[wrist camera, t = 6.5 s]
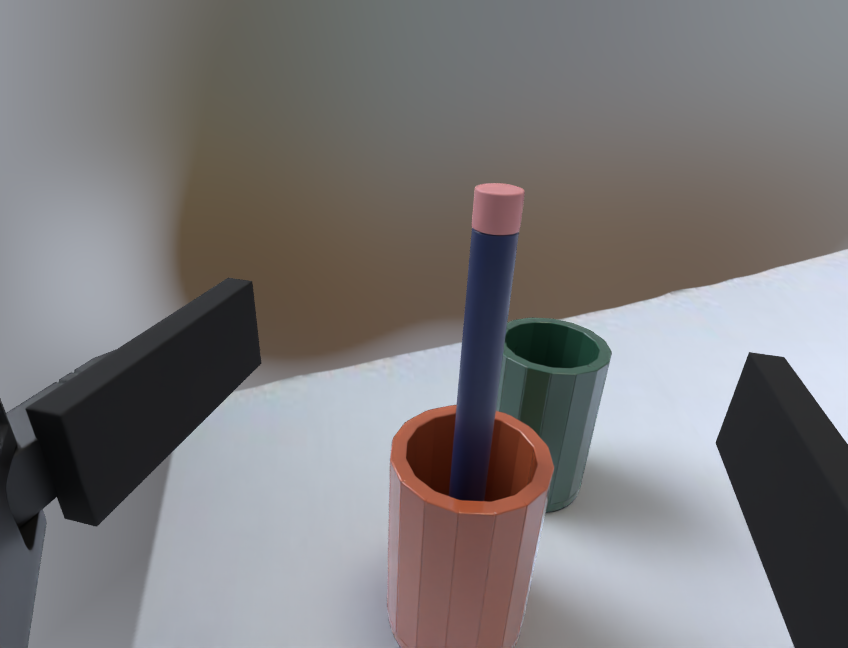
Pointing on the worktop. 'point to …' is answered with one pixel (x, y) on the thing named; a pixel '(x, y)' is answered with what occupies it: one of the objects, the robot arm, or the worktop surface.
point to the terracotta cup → (463, 535)
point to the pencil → (484, 333)
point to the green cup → (555, 393)
